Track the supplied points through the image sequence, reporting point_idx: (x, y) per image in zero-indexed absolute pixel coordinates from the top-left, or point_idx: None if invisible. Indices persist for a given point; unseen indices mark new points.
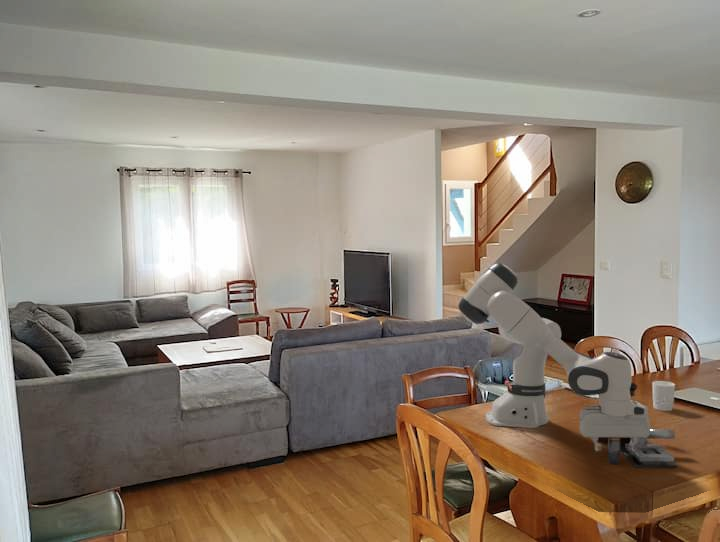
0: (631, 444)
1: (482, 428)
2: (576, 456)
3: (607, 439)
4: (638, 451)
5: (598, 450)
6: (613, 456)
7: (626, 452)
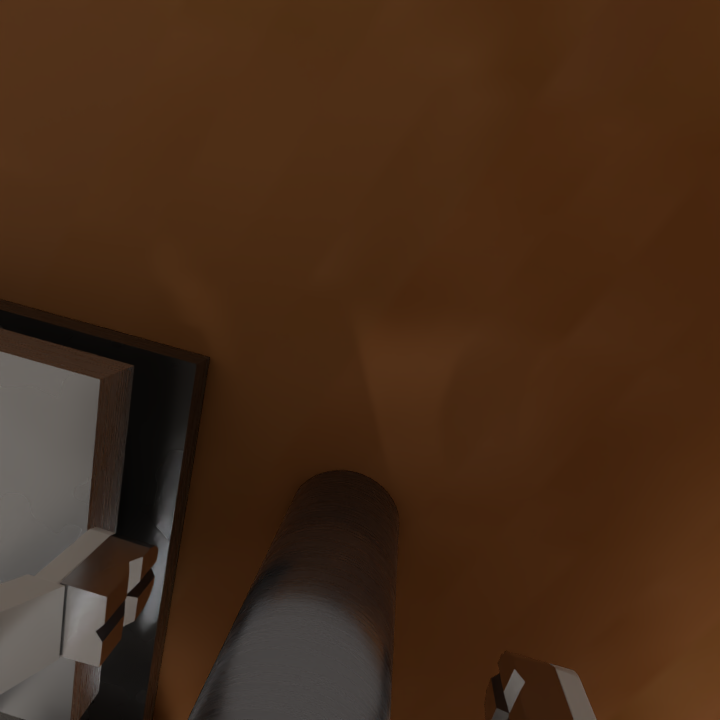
0: (40, 611)
1: None
2: (602, 715)
3: None
4: (30, 529)
5: (552, 666)
6: (371, 534)
7: (128, 628)
